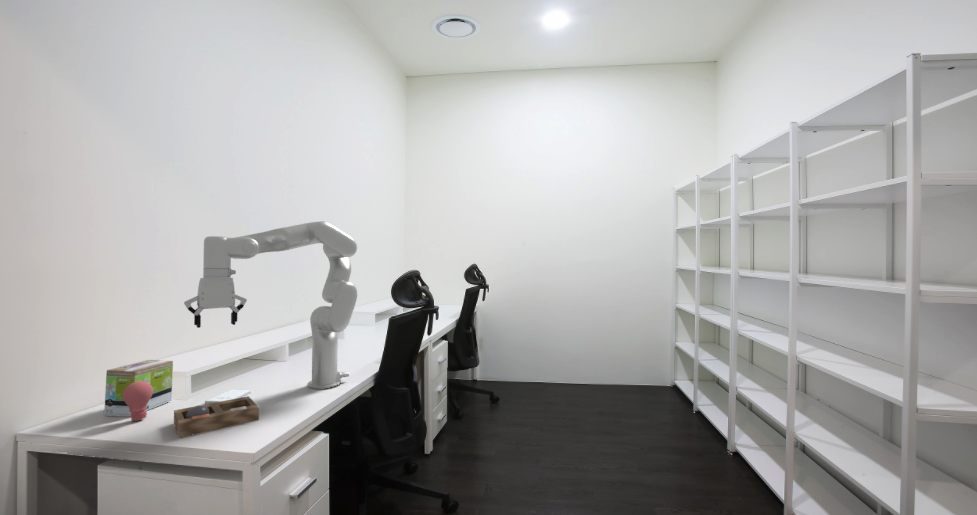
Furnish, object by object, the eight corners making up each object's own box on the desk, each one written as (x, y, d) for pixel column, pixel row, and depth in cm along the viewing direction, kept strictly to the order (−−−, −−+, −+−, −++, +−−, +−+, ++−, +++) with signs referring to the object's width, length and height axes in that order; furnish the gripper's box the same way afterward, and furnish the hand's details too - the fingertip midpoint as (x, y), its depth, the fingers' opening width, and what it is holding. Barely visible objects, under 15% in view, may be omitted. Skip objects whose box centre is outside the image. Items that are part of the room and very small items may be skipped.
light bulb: (116, 422, 124) (117, 383, 124) (143, 414, 131) (144, 377, 131) (131, 426, 121) (131, 386, 122) (157, 418, 128) (158, 379, 128)
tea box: (133, 417, 128) (134, 370, 129) (103, 416, 129) (104, 369, 129) (173, 401, 144) (173, 359, 144) (146, 400, 144) (146, 358, 144)
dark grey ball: (208, 419, 127) (208, 400, 127) (211, 425, 122) (211, 405, 122) (184, 425, 123) (184, 405, 123) (187, 431, 118) (186, 411, 118)
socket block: (248, 408, 137) (248, 395, 138) (258, 419, 128) (258, 405, 128) (173, 423, 124) (173, 409, 124) (178, 437, 114) (179, 422, 114)
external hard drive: (250, 394, 153) (227, 406, 141) (229, 393, 154) (204, 405, 141) (250, 390, 153) (227, 401, 141) (229, 389, 154) (204, 400, 141)
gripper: (244, 273, 143) (243, 322, 143) (183, 273, 131) (182, 327, 131) (249, 273, 137) (248, 324, 137) (186, 274, 126) (185, 330, 125)
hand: (216, 325), depth 134 cm, fingers open, 9 cm apart
